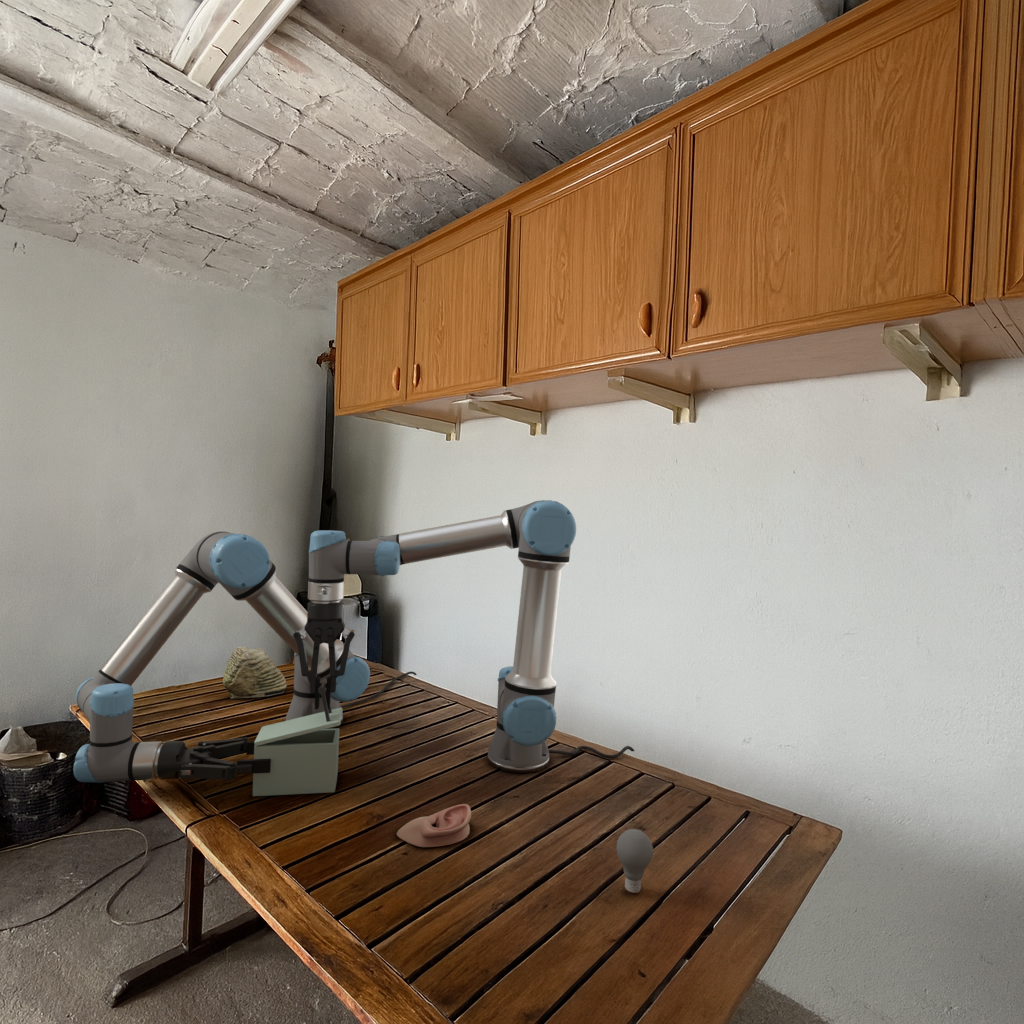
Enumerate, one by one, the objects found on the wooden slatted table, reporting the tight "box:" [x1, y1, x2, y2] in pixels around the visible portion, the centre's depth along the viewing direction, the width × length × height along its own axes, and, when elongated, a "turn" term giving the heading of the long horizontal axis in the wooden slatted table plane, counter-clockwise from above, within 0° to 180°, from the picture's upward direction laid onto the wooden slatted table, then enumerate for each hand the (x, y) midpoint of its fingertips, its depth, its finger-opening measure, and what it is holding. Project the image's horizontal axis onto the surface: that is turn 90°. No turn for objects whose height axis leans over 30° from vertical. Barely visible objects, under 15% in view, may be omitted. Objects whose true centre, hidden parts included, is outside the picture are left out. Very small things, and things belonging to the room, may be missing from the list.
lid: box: [254, 679, 343, 746], centre depth 138 cm, size 18×9×9 cm, turn 102°
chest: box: [252, 727, 340, 797], centre depth 139 cm, size 17×9×10 cm, turn 102°
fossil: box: [222, 646, 288, 699], centre depth 198 cm, size 9×18×15 cm, turn 132°
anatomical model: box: [396, 803, 472, 848], centre depth 121 cm, size 13×4×12 cm
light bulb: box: [615, 828, 654, 894], centre depth 106 cm, size 6×6×10 cm
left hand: (274, 756), depth 138 cm, fingers closed on chest, 9 cm apart
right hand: (322, 707), depth 140 cm, fingers closed on lid, 2 cm apart
